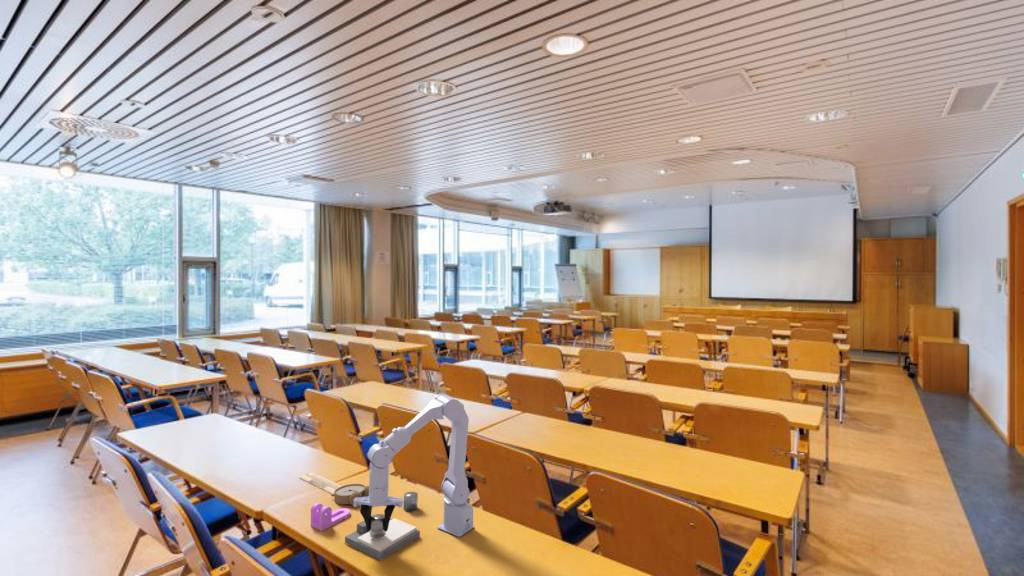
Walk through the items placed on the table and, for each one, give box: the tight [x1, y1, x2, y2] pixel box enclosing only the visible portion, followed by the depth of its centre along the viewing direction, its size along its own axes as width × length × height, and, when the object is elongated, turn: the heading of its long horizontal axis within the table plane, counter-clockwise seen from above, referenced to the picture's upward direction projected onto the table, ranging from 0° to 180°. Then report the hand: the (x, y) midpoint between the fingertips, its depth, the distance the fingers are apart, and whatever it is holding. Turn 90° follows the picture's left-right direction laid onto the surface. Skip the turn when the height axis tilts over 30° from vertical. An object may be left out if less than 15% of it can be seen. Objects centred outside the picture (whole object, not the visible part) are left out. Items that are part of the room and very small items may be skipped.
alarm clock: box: [330, 483, 369, 506], centre depth 179 cm, size 11×5×15 cm
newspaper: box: [299, 472, 342, 495], centre depth 191 cm, size 24×7×2 cm, turn 53°
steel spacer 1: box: [370, 513, 386, 538], centre depth 148 cm, size 5×5×5 cm
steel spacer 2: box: [403, 491, 419, 513], centre depth 173 cm, size 5×5×5 cm
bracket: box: [310, 502, 351, 531], centre depth 164 cm, size 13×6×7 cm, turn 150°
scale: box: [344, 517, 421, 561], centre depth 152 cm, size 16×16×6 cm
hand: (377, 529), depth 148 cm, fingers closed on steel spacer 1, 4 cm apart
